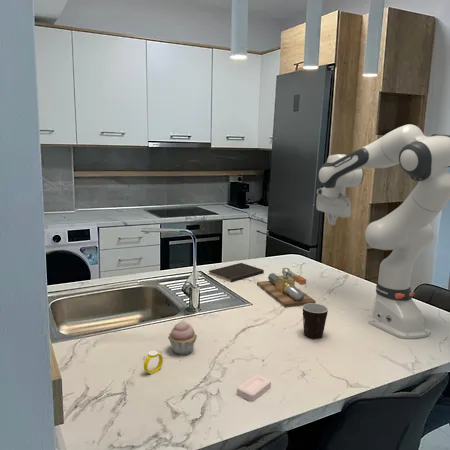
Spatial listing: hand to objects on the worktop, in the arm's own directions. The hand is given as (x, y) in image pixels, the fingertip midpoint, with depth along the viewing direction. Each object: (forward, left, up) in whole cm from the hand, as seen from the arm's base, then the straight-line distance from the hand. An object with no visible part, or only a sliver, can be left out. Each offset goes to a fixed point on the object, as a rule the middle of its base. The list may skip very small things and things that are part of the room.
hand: (331, 224), depth 187 cm
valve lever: (-3, +19, -22) cm, 29 cm away
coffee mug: (-37, +29, -31) cm, 56 cm away
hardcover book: (+35, +29, -32) cm, 56 cm away
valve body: (+3, +19, -31) cm, 36 cm away
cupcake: (-34, +74, -31) cm, 87 cm away
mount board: (+3, +19, -31) cm, 36 cm away
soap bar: (-61, +61, -32) cm, 92 cm away
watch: (-44, +85, -31) cm, 101 cm away
